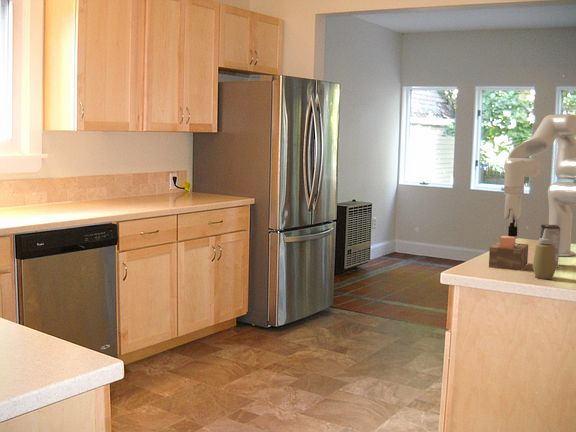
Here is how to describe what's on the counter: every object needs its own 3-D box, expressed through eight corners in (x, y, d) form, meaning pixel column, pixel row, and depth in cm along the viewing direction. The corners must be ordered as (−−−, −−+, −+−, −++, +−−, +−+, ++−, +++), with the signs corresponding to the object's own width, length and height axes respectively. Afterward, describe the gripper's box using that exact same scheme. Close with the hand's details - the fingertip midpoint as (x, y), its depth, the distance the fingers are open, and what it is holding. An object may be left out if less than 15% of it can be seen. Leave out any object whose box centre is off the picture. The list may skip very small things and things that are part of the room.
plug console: (497, 261, 297) (497, 241, 296) (527, 263, 291) (528, 244, 290) (488, 267, 283) (489, 247, 282) (520, 270, 277) (521, 249, 276)
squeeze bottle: (529, 275, 267) (531, 227, 265) (551, 275, 267) (553, 227, 265) (535, 279, 259) (538, 230, 257) (558, 280, 259) (561, 230, 257)
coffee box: (538, 263, 293) (540, 224, 291) (555, 263, 292) (557, 224, 290) (541, 267, 284) (543, 226, 283) (558, 268, 283) (561, 227, 281)
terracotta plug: (501, 250, 286) (502, 235, 285) (514, 251, 284) (515, 236, 283) (499, 252, 282) (500, 237, 281) (512, 253, 279) (513, 238, 279)
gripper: (507, 188, 295) (506, 232, 298) (500, 192, 282) (499, 238, 285) (526, 189, 292) (525, 233, 295) (520, 193, 279) (519, 239, 281)
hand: (512, 236), depth 290 cm, fingers closed
